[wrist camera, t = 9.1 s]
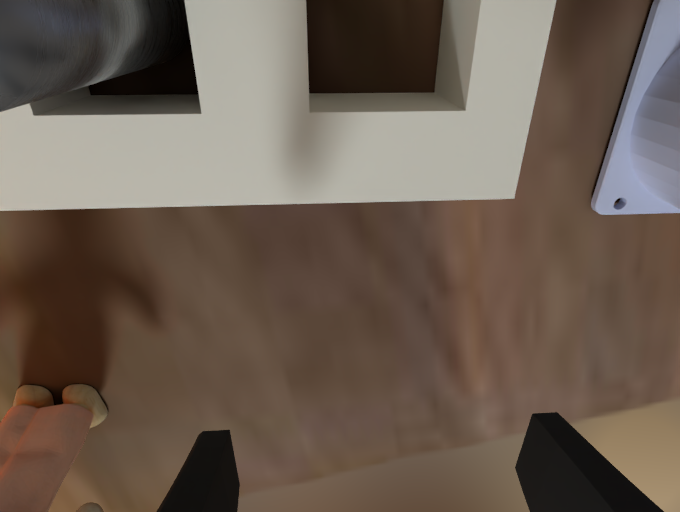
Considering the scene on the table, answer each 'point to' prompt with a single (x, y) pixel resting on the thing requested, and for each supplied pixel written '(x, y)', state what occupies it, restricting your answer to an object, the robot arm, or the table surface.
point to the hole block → (288, 121)
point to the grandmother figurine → (44, 444)
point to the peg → (82, 43)
